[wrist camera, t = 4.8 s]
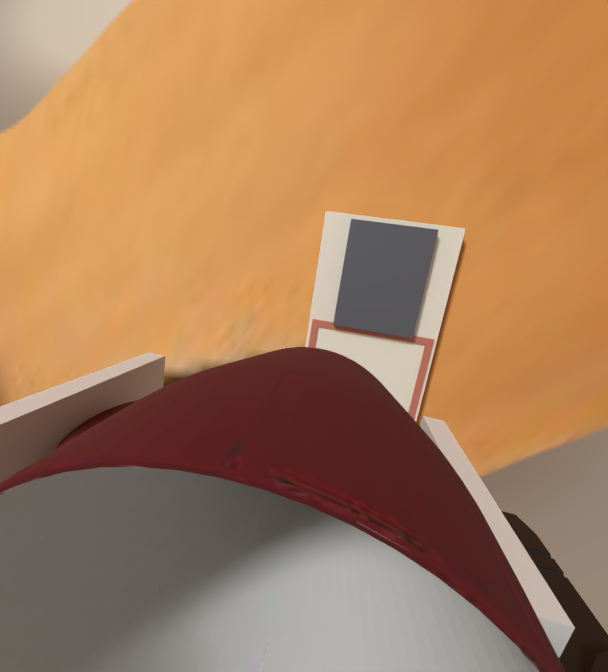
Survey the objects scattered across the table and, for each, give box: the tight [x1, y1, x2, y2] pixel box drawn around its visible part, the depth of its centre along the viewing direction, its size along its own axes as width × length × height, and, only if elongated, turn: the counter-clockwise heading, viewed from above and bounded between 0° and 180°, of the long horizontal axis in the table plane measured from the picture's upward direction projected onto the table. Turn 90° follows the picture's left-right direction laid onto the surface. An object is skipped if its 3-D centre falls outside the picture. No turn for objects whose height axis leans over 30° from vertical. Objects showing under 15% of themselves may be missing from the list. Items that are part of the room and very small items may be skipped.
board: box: [305, 211, 466, 421], centre depth 27 cm, size 12×24×2 cm, turn 171°
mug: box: [0, 347, 565, 672], centre depth 8 cm, size 11×8×10 cm
